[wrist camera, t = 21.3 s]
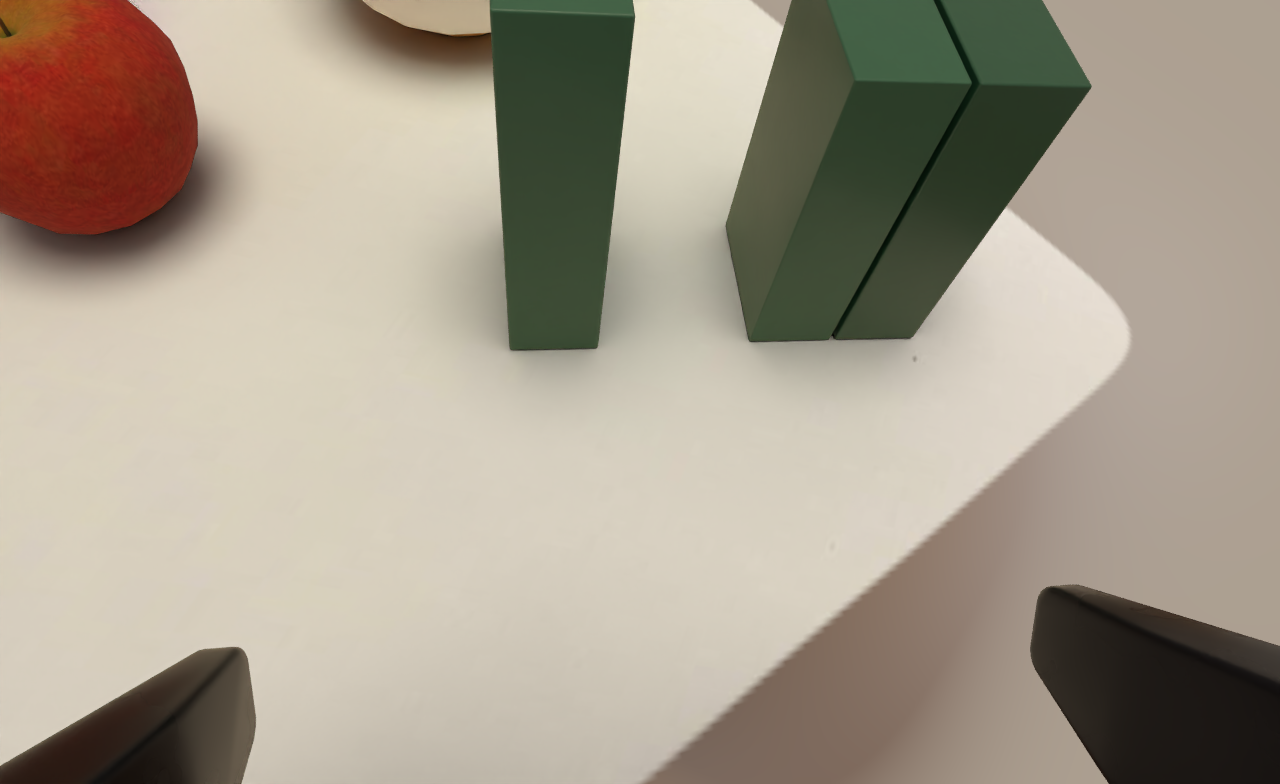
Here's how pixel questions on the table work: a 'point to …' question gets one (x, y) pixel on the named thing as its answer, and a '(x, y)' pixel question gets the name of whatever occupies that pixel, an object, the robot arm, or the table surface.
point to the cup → (438, 15)
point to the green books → (889, 157)
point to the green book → (558, 159)
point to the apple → (90, 115)
